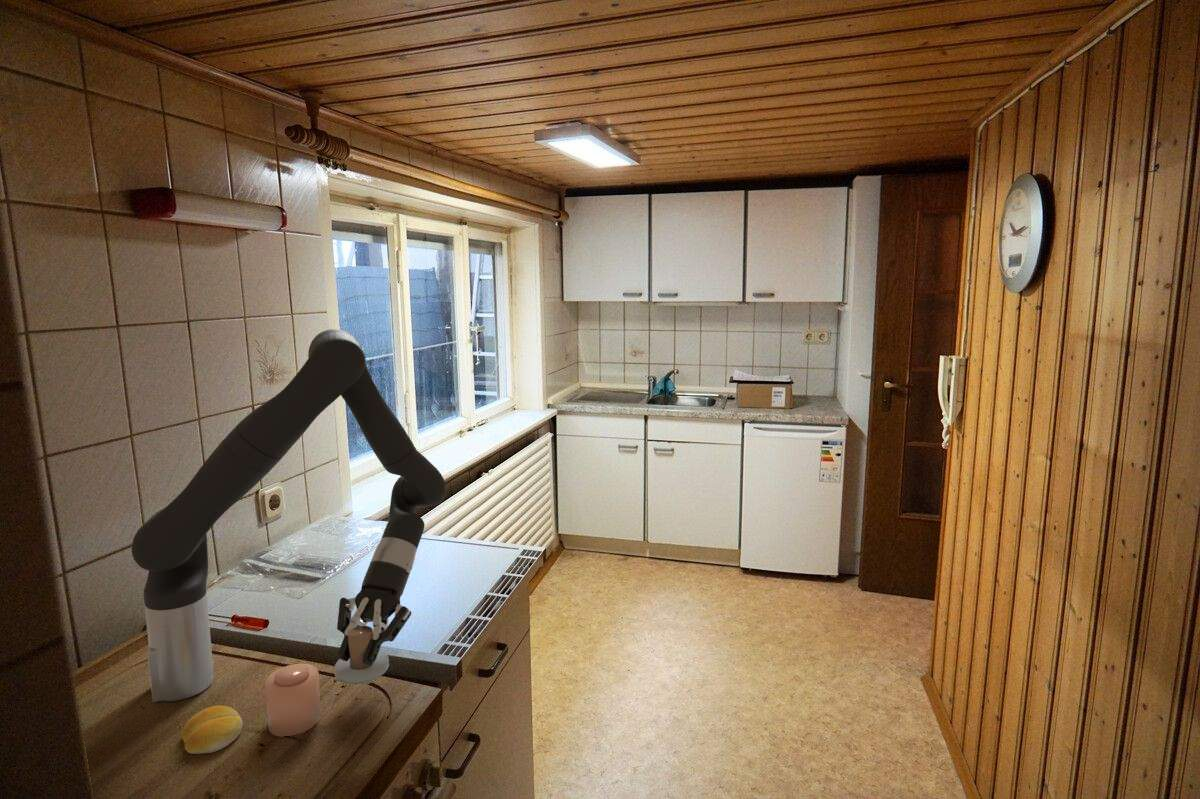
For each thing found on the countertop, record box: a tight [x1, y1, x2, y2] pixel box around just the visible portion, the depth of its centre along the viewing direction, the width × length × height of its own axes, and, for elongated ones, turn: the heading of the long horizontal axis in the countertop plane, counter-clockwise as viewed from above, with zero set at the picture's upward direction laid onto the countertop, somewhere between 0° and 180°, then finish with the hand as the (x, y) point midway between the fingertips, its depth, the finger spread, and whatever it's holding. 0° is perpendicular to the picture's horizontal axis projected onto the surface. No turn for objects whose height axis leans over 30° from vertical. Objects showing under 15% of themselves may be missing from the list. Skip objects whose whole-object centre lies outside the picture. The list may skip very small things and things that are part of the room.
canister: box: [264, 663, 321, 738], centre depth 107 cm, size 8×8×9 cm
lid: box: [334, 625, 390, 686], centre depth 112 cm, size 9×9×8 cm
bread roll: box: [181, 705, 244, 755], centre depth 103 cm, size 8×9×4 cm
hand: (355, 661), depth 110 cm, fingers closed on lid, 4 cm apart
